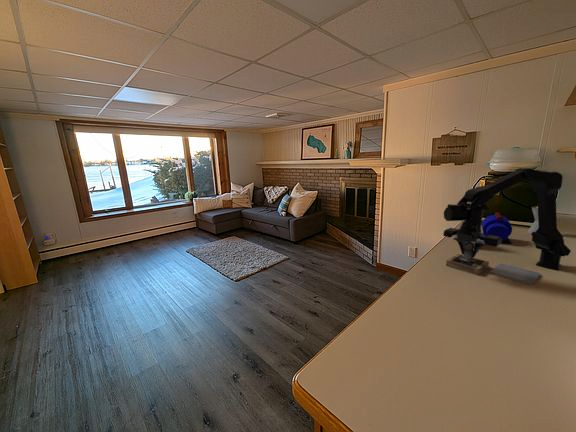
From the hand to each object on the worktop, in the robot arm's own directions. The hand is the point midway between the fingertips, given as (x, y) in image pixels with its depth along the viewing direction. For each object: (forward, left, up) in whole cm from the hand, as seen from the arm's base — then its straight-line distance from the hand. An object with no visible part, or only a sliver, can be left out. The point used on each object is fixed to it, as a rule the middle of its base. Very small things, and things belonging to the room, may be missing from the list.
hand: (468, 255), depth 101 cm
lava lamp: (-77, +7, -5) cm, 77 cm away
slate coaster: (-6, +14, -5) cm, 16 cm away
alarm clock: (-47, -4, -5) cm, 47 cm away
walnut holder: (0, 0, -5) cm, 5 cm away
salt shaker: (0, 0, -5) cm, 5 cm away
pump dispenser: (-29, -10, -5) cm, 31 cm away
